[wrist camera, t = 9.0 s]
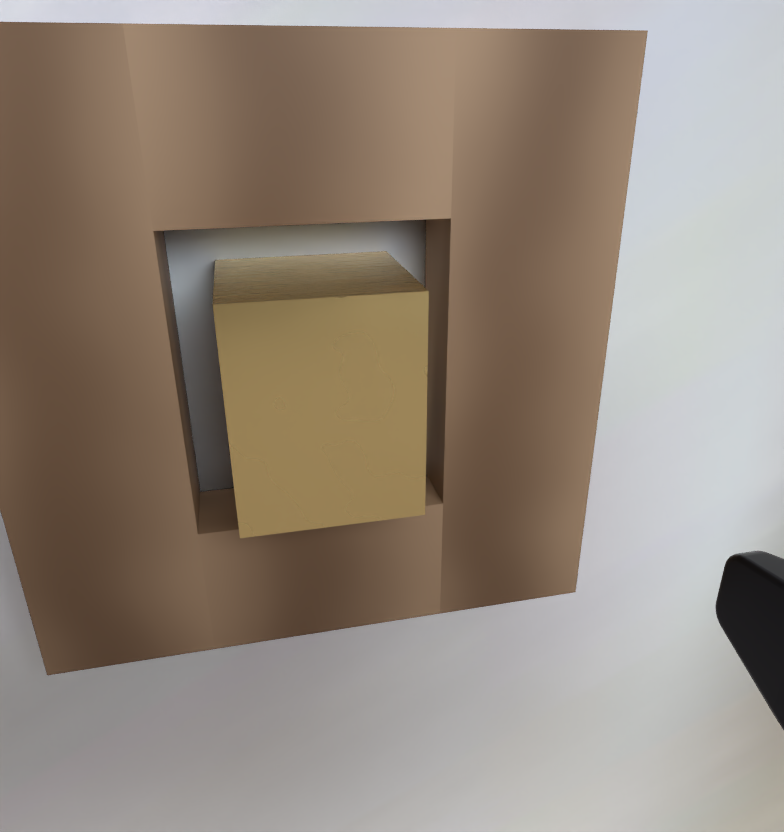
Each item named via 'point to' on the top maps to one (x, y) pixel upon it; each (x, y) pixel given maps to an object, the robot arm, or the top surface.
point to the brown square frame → (299, 205)
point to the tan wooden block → (323, 389)
